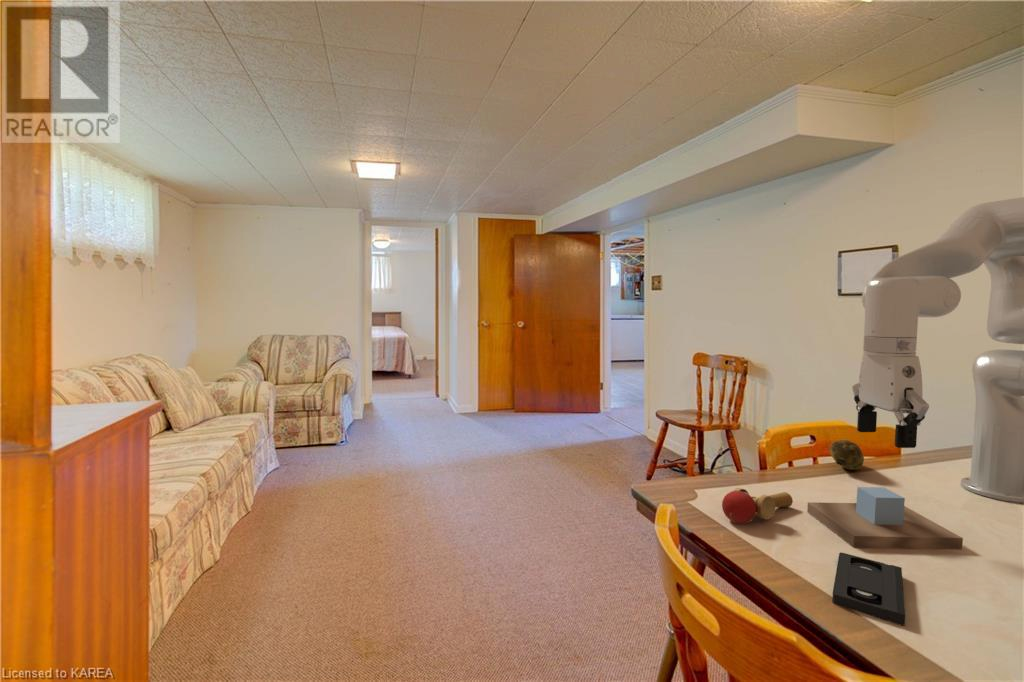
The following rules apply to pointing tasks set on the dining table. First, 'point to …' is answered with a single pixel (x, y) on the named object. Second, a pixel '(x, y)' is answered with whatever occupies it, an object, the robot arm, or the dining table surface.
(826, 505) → the board
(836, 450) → the potato
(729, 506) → the kendama
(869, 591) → the vhs tape
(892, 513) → the cube
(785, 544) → the dining table surface
